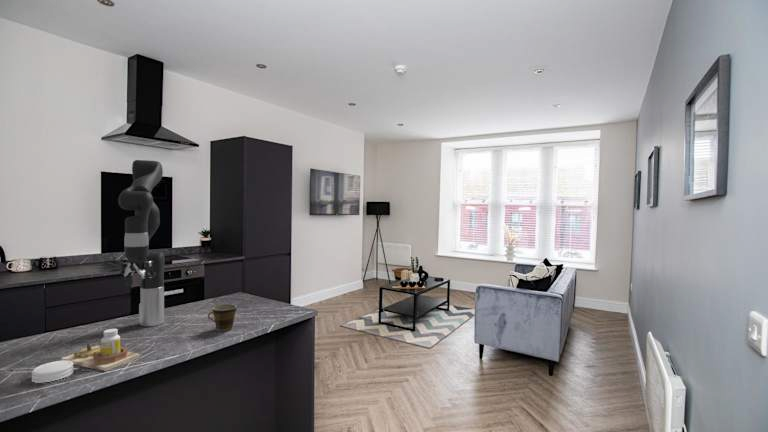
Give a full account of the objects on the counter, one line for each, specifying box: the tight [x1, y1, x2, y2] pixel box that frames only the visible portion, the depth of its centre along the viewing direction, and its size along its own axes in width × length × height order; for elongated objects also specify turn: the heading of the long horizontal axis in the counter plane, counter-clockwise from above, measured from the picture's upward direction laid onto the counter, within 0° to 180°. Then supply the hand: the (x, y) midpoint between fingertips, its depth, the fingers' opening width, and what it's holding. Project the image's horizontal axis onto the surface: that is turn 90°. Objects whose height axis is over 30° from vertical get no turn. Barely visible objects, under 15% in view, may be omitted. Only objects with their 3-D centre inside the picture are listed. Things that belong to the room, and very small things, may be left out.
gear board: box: [60, 342, 141, 372], centre depth 130 cm, size 22×12×5 cm, turn 72°
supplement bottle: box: [100, 328, 121, 357], centre depth 128 cm, size 5×5×10 cm
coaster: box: [31, 360, 74, 384], centre depth 117 cm, size 10×10×4 cm
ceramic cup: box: [207, 303, 238, 333], centre depth 161 cm, size 13×10×10 cm
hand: (137, 287), depth 137 cm, fingers open, 8 cm apart
